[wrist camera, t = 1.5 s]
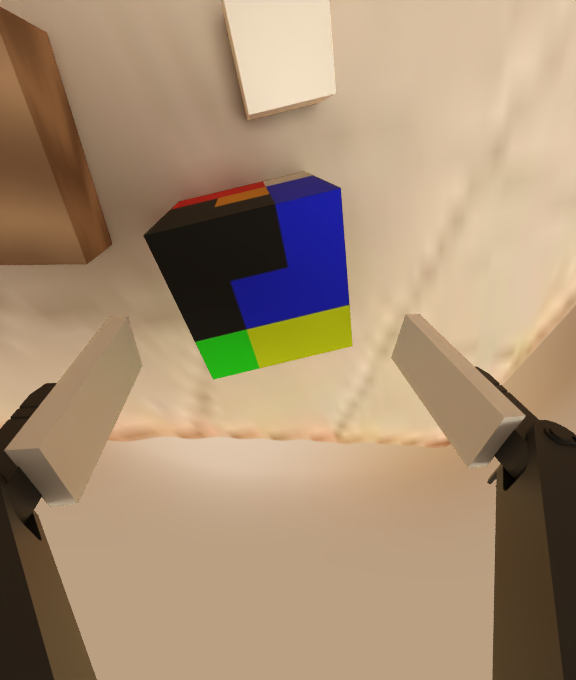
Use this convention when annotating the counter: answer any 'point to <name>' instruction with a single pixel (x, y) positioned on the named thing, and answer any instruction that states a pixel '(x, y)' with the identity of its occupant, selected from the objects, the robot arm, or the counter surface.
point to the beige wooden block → (281, 53)
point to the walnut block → (41, 159)
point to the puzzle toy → (258, 272)
